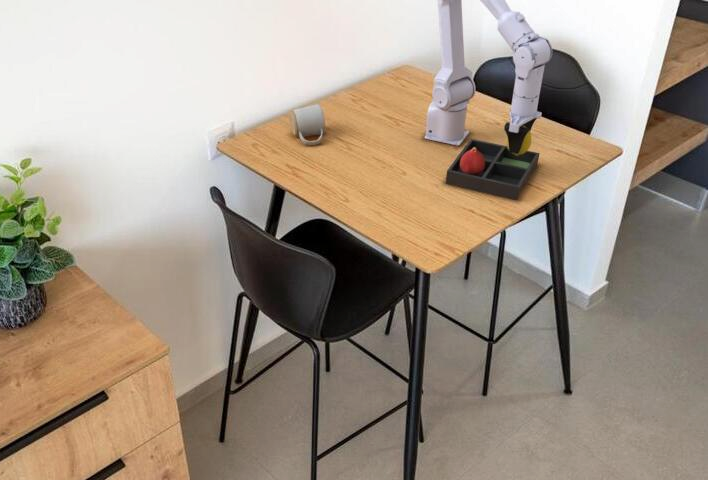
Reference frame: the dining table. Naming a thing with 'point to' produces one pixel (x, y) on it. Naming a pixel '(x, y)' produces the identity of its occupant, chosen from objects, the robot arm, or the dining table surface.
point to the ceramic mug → (308, 123)
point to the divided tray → (495, 170)
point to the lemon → (523, 144)
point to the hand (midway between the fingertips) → (517, 146)
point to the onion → (472, 162)
